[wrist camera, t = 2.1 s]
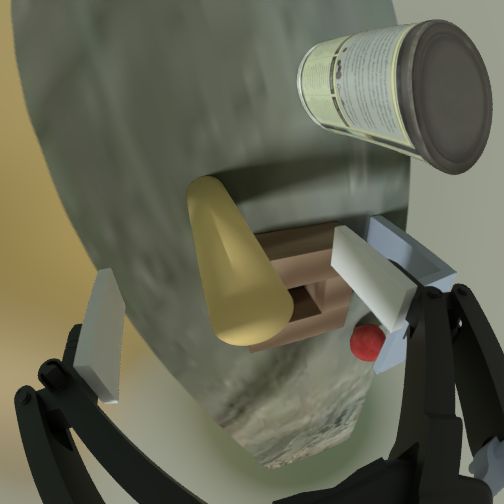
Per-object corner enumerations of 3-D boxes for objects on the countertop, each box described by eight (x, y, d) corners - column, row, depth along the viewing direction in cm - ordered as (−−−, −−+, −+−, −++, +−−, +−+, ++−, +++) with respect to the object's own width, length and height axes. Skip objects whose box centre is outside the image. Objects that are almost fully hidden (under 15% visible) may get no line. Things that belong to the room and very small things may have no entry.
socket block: (231, 239, 28) (243, 266, 24) (336, 221, 30) (361, 242, 26) (240, 323, 34) (250, 353, 30) (326, 301, 36) (343, 326, 32)
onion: (370, 308, 41) (399, 342, 34) (370, 328, 44) (395, 360, 37) (340, 325, 40) (366, 362, 34) (342, 344, 44) (365, 379, 37)
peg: (183, 179, 23) (205, 293, 10) (223, 173, 24) (295, 274, 11) (189, 216, 25) (217, 352, 12) (226, 209, 26) (291, 334, 13)
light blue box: (336, 221, 30) (413, 290, 19) (380, 214, 31) (456, 272, 21) (326, 301, 36) (377, 374, 26) (364, 290, 38) (418, 353, 27)
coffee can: (361, 31, 19) (474, 19, 8) (391, 116, 25) (498, 147, 13) (276, 55, 20) (383, 24, 8) (319, 150, 25) (427, 201, 14)
